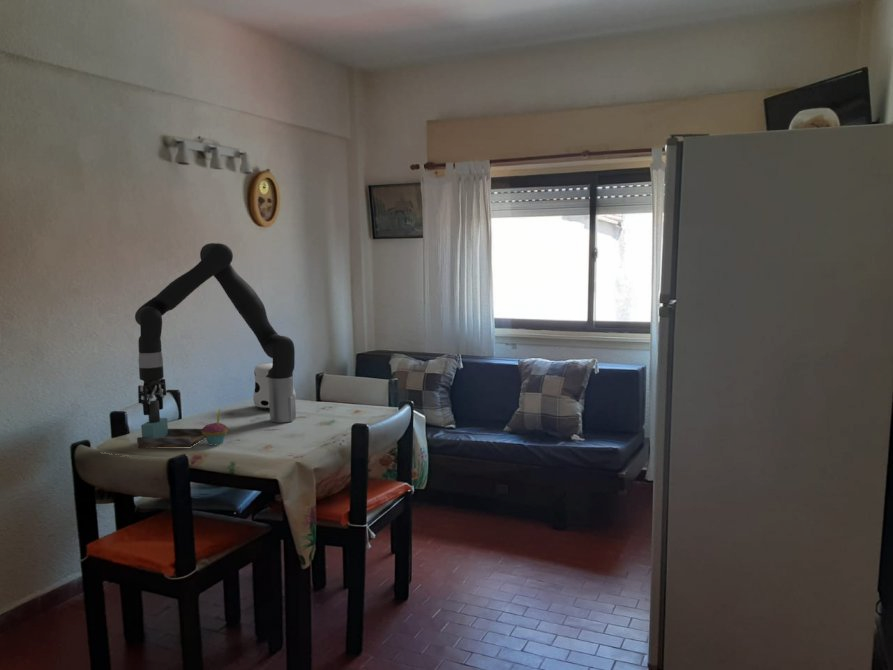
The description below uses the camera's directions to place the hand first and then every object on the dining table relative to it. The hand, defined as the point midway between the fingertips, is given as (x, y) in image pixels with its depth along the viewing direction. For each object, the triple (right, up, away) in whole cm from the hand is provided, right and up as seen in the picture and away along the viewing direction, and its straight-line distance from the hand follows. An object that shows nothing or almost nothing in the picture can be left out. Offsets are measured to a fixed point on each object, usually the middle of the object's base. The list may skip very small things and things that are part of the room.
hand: (153, 412), depth 225 cm
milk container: (+27, -5, +54) cm, 61 cm away
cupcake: (+21, -11, 0) cm, 24 cm away
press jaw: (0, -9, +1) cm, 9 cm away
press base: (+6, -11, +1) cm, 12 cm away
